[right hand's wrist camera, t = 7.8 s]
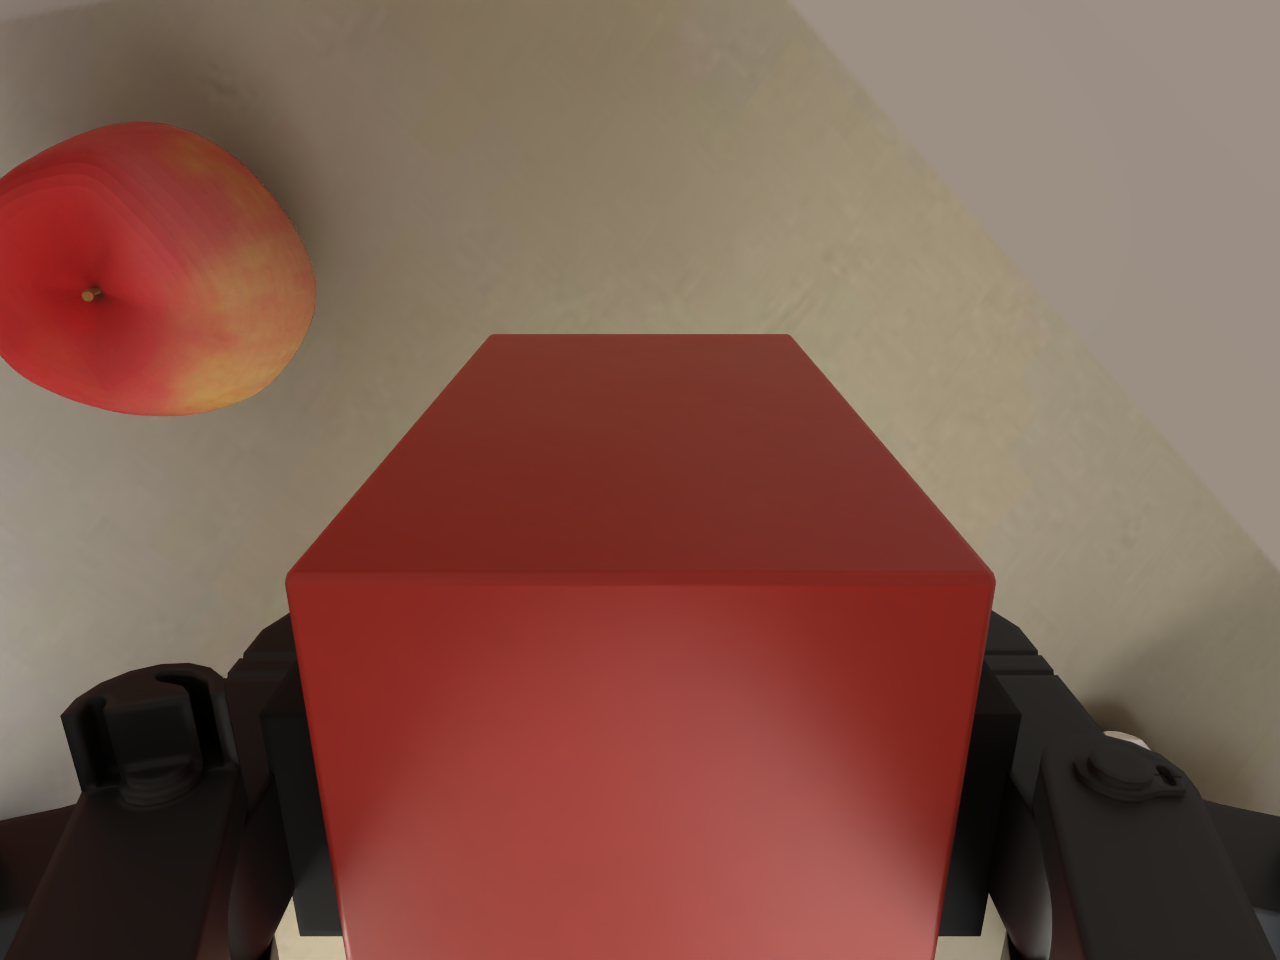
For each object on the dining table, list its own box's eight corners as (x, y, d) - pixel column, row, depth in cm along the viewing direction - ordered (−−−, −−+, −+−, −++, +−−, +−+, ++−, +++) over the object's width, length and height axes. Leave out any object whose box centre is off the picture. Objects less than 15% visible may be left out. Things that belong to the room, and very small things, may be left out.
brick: (489, 333, 15) (277, 575, 6) (791, 333, 15) (1001, 576, 6) (507, 633, 18) (370, 1126, 9) (772, 632, 18) (910, 1126, 9)
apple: (148, 384, 36) (-26, 464, 27) (74, 142, 33) (-156, 137, 23) (373, 363, 36) (276, 437, 26) (321, 116, 32) (189, 99, 23)
